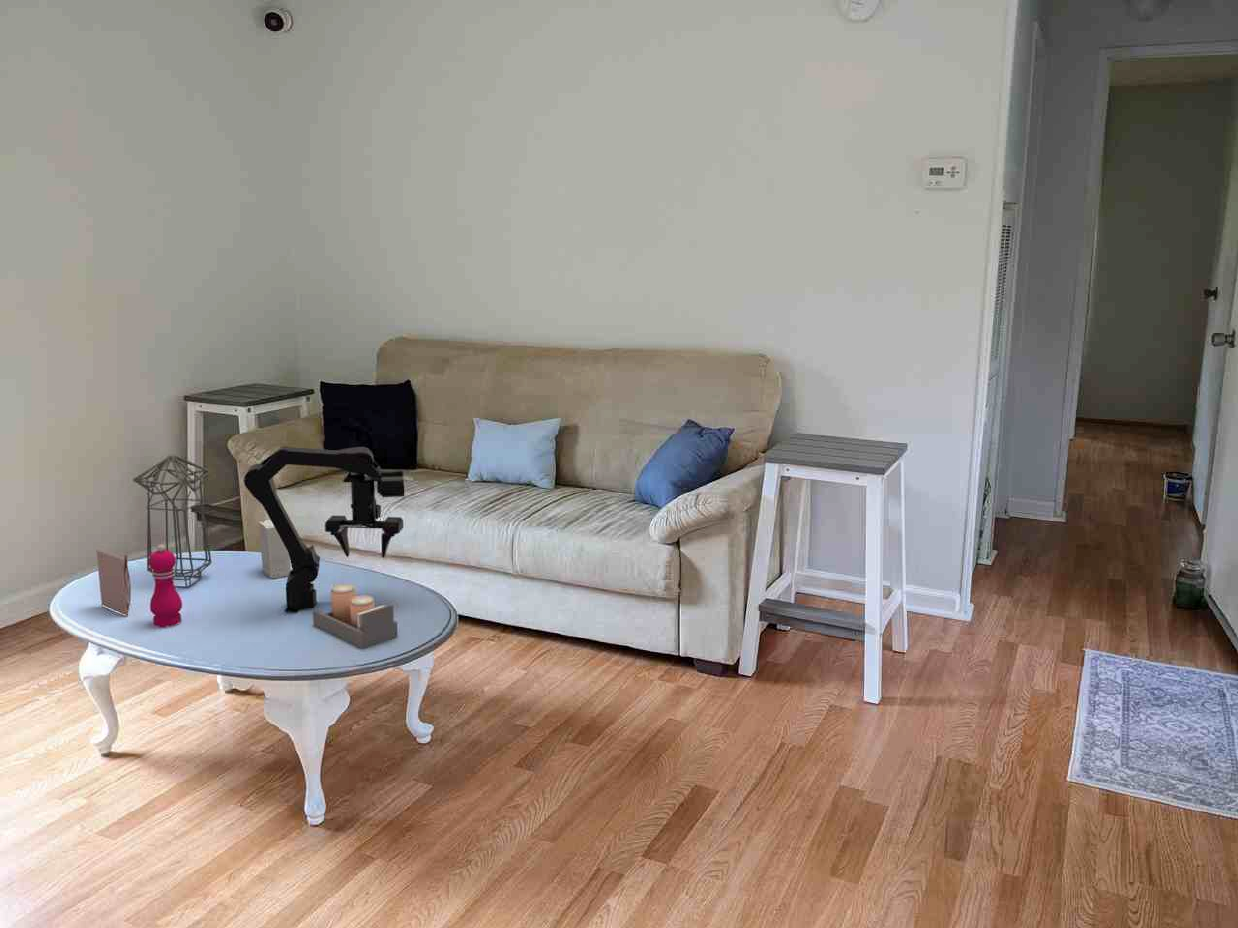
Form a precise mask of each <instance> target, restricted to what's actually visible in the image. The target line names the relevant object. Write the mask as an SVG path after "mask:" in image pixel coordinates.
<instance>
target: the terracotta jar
mask: <svg viewBox="0 0 1238 928" xmlns="http://www.w3.org/2000/svg"><path fill="white" fill-rule="evenodd" d="M354 597H356V588H354V585H353V584H351V583H345V582H343V583H342V582H341V583H338V584H337V583H336V584H334V585H333V586H332V587H331V590H330V598H331V599H330V600H331V601H330V602H331V611H332V617H333V618H335V619H337V620H339V621H341V622H344V623H346V624H348V625H350V626H351V616H350V602H351V599H352V598H354Z"/></svg>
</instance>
